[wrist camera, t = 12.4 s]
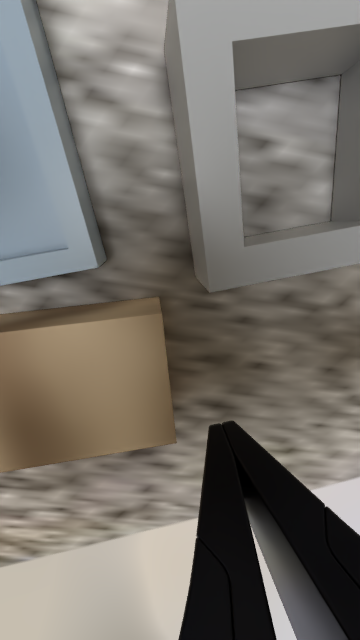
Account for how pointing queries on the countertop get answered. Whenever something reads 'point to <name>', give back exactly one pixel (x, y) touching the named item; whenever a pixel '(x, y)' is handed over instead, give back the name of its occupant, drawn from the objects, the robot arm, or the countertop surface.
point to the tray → (38, 161)
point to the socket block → (222, 138)
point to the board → (83, 383)
